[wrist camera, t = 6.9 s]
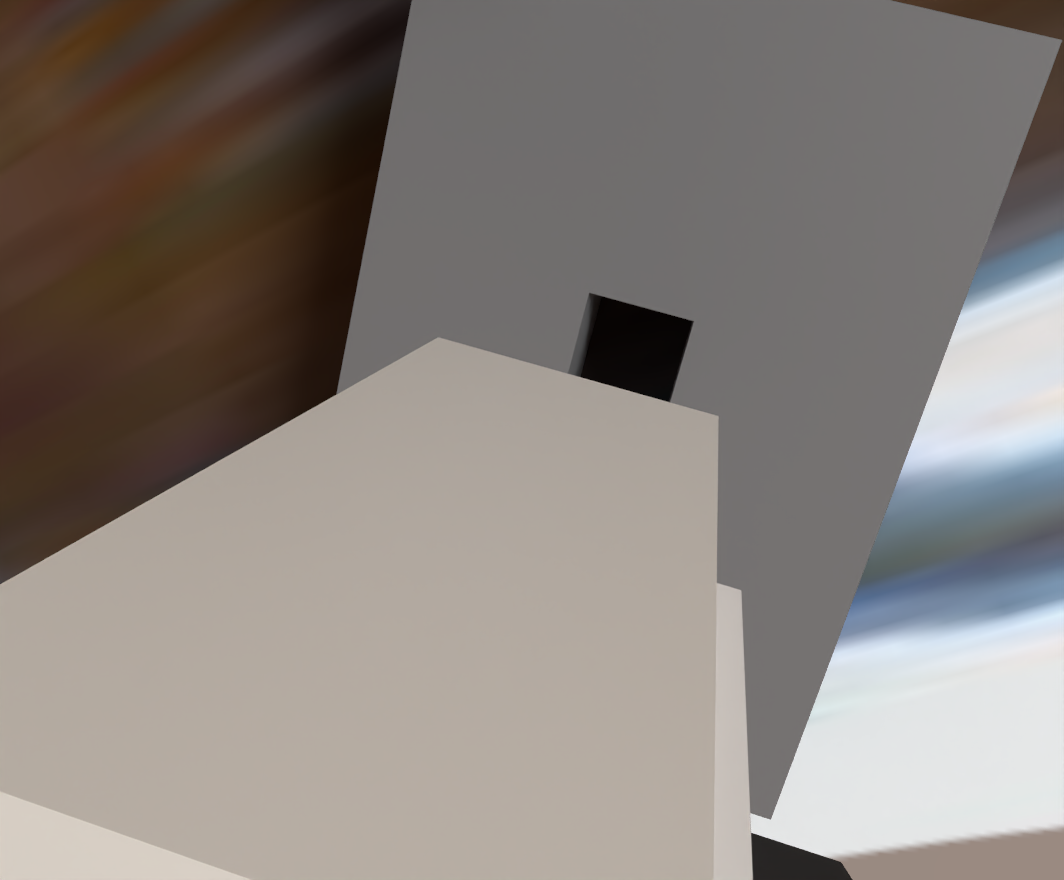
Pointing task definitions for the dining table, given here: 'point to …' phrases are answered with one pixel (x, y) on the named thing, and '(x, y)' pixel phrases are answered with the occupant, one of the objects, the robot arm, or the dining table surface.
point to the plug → (384, 648)
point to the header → (713, 249)
